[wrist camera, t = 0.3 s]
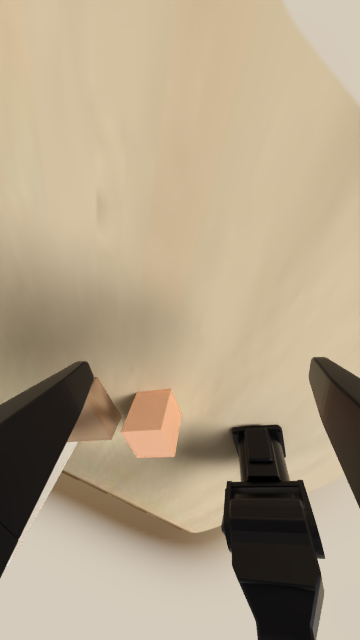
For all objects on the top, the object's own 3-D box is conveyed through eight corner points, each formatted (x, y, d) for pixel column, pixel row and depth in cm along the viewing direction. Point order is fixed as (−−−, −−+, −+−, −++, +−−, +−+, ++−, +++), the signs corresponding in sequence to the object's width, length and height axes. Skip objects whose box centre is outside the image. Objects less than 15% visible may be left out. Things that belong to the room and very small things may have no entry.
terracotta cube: (181, 414, 32) (174, 456, 27) (149, 416, 33) (136, 457, 28) (171, 388, 30) (161, 429, 25) (137, 392, 31) (120, 431, 26)
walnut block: (122, 414, 34) (111, 439, 31) (78, 418, 37) (64, 442, 33) (98, 375, 31) (83, 398, 28) (51, 382, 33) (32, 404, 30)
